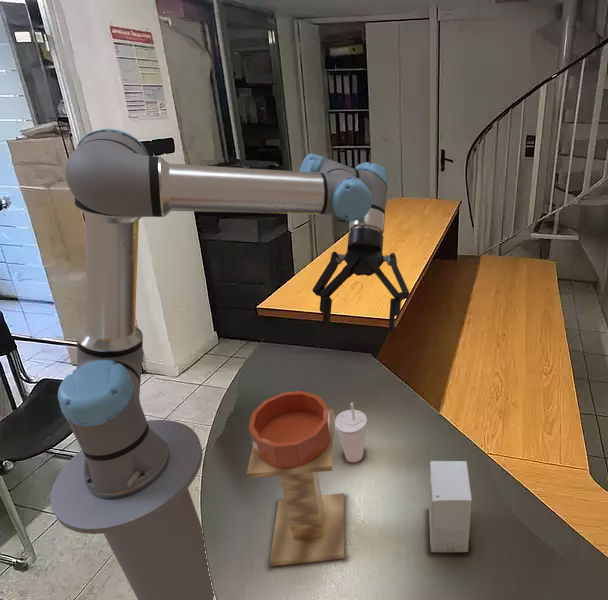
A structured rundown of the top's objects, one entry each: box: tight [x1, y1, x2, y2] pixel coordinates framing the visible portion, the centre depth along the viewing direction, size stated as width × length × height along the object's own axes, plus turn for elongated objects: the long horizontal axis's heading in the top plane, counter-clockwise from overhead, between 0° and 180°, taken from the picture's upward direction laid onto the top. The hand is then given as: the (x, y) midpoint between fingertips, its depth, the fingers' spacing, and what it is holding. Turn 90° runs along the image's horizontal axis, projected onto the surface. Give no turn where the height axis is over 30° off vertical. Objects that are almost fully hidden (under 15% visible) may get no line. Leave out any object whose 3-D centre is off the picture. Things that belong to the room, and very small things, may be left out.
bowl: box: [248, 390, 331, 468], centre depth 73 cm, size 11×11×4 cm
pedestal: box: [246, 408, 345, 567], centre depth 79 cm, size 12×12×22 cm
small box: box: [428, 460, 473, 553], centre depth 81 cm, size 8×6×13 cm
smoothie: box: [334, 402, 368, 463], centre depth 96 cm, size 6×6×14 cm
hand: (358, 330), depth 99 cm, fingers open, 13 cm apart
